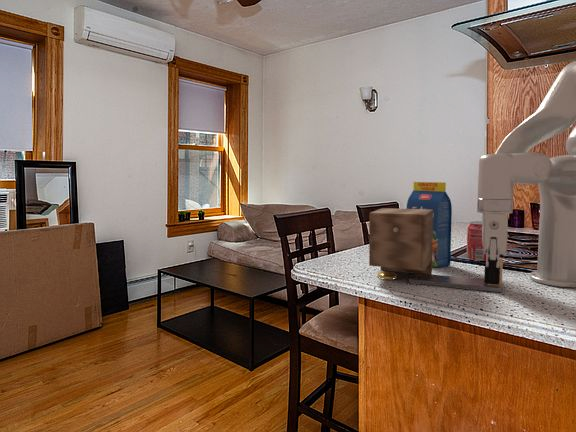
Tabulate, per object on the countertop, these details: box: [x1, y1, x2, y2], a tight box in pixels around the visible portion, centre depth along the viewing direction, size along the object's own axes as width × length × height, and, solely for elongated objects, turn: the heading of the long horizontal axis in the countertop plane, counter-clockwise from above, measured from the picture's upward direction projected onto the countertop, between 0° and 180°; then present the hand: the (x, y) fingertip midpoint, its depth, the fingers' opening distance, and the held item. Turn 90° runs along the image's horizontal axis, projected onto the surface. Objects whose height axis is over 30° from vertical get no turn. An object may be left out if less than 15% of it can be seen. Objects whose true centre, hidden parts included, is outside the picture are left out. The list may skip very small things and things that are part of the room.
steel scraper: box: [408, 258, 504, 293], centre depth 101 cm, size 21×7×7 cm, turn 63°
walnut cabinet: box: [368, 207, 433, 275], centre depth 108 cm, size 14×14×18 cm
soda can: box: [466, 221, 491, 261], centre depth 126 cm, size 7×7×12 cm
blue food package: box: [406, 181, 453, 269], centre depth 123 cm, size 6×12×25 cm, turn 31°
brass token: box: [377, 271, 398, 280], centre depth 109 cm, size 5×5×1 cm
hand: (491, 281), depth 98 cm, fingers closed on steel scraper, 3 cm apart
